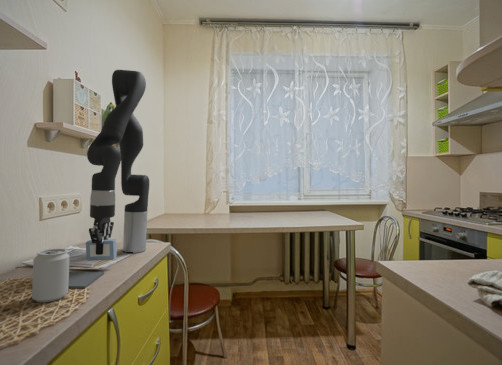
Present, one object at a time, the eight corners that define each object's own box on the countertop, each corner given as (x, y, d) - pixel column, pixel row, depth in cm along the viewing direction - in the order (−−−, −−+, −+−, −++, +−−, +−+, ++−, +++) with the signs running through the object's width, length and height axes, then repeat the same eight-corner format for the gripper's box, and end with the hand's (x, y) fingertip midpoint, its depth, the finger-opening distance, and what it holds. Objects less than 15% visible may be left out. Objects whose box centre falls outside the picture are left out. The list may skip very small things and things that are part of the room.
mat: (58, 273, 85) (58, 271, 86) (104, 273, 87) (104, 272, 87) (31, 288, 74) (31, 286, 74) (85, 288, 75) (85, 286, 75)
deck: (90, 258, 93) (89, 240, 93) (116, 257, 94) (116, 239, 94) (86, 260, 91) (85, 241, 91) (113, 259, 91) (113, 240, 91)
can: (66, 289, 74) (67, 246, 74) (70, 298, 68) (72, 251, 68) (31, 296, 69) (33, 249, 69) (32, 306, 63) (34, 256, 63)
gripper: (101, 201, 98) (99, 247, 99) (80, 205, 85) (78, 259, 85) (122, 201, 99) (120, 248, 99) (104, 205, 85) (103, 259, 86)
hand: (101, 252), depth 92 cm, fingers closed on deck, 2 cm apart
